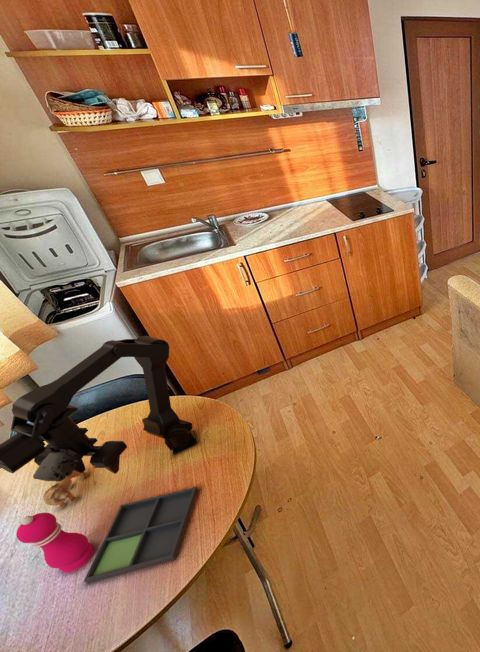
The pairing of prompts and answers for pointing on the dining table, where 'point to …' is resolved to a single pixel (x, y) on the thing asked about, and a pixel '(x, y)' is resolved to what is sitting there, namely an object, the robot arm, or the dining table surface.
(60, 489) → the lion figurine
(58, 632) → the dining table surface
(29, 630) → the dining table surface
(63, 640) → the dining table surface
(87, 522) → the dining table surface
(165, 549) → the grid
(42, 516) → the pepper mill
